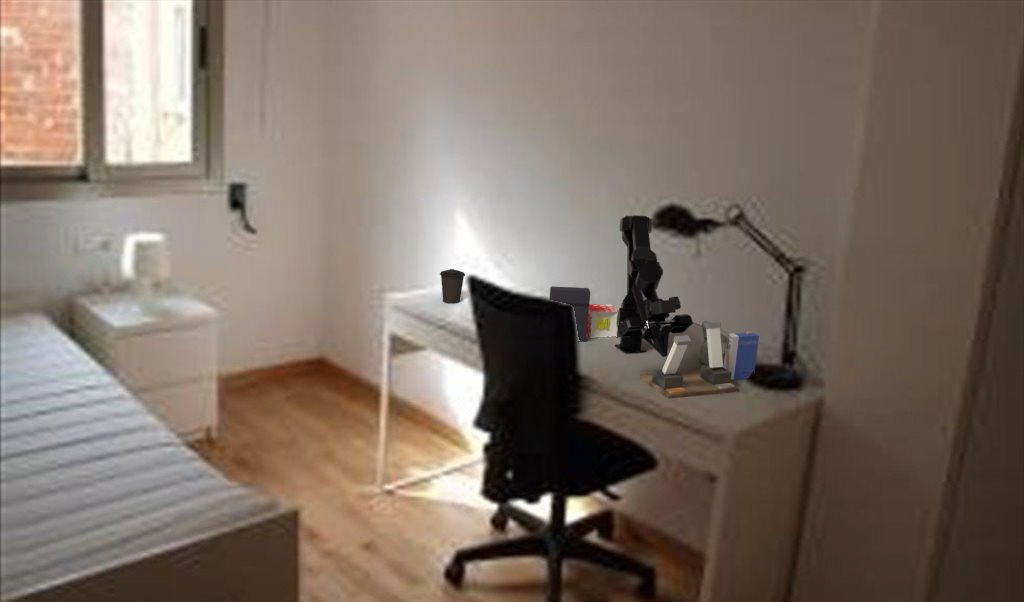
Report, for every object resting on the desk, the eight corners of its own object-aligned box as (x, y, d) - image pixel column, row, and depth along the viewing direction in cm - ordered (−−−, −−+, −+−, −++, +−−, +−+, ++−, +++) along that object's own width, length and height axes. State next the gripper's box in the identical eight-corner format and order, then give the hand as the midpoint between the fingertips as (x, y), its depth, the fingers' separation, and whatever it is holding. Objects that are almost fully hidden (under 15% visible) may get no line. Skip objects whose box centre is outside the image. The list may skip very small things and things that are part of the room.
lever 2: (707, 367, 240) (704, 323, 240) (720, 366, 241) (716, 322, 241) (712, 367, 238) (708, 322, 238) (724, 366, 239) (720, 322, 240)
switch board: (640, 378, 241) (641, 363, 240) (707, 372, 248) (709, 358, 247) (668, 398, 229) (669, 382, 228) (738, 391, 236) (740, 376, 235)
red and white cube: (590, 338, 272) (592, 311, 270) (582, 330, 280) (584, 304, 278) (616, 338, 274) (619, 311, 272) (608, 330, 281) (611, 304, 279)
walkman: (747, 374, 249) (753, 331, 246) (753, 378, 246) (759, 334, 243) (721, 376, 246) (726, 332, 243) (726, 380, 244) (732, 335, 241)
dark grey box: (584, 337, 272) (588, 287, 268) (586, 342, 268) (590, 291, 264) (546, 336, 272) (550, 285, 268) (547, 340, 267) (551, 289, 263)
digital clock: (749, 375, 249) (754, 336, 246) (717, 376, 247) (721, 336, 244) (723, 355, 264) (727, 318, 261) (692, 355, 262) (696, 318, 259)
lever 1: (660, 369, 234) (674, 336, 227) (673, 368, 235) (687, 335, 228) (663, 375, 232) (678, 341, 225) (676, 374, 234) (691, 340, 227)
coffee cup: (454, 296, 307) (455, 266, 305) (469, 302, 301) (470, 272, 299) (433, 300, 302) (434, 269, 299) (448, 306, 296) (449, 275, 294)
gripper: (627, 287, 232) (645, 344, 225) (693, 283, 239) (712, 339, 232) (610, 308, 241) (627, 364, 234) (673, 304, 248) (692, 358, 241)
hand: (665, 356), depth 235 cm, fingers closed
